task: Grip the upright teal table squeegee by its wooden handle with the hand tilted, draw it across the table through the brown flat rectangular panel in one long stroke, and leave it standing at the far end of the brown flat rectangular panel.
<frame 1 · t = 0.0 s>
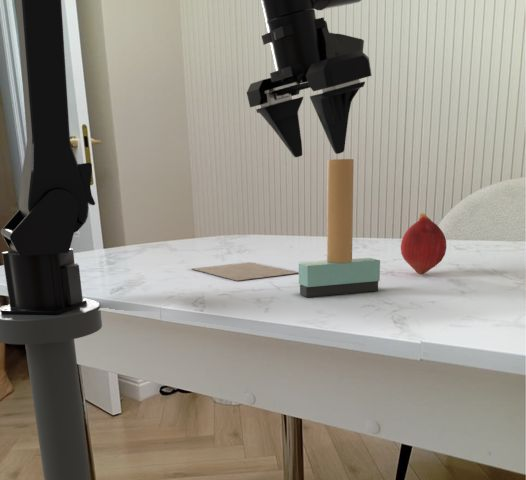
hand: (318, 154, 74), 16 cm above the table, tool pointing down, fingers open, 9 cm apart
onion: (421, 275, 79), on the table
wiper: (339, 292, 68), on the table
brown flat rectangular panel: (243, 271, 86), on the table
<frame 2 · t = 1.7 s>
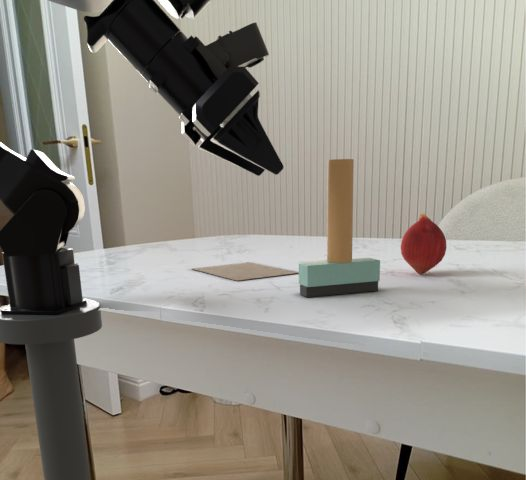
hand: (270, 172, 63), 13 cm above the table, tool tilted 45°, fingers open, 9 cm apart
nothing on the table moved.
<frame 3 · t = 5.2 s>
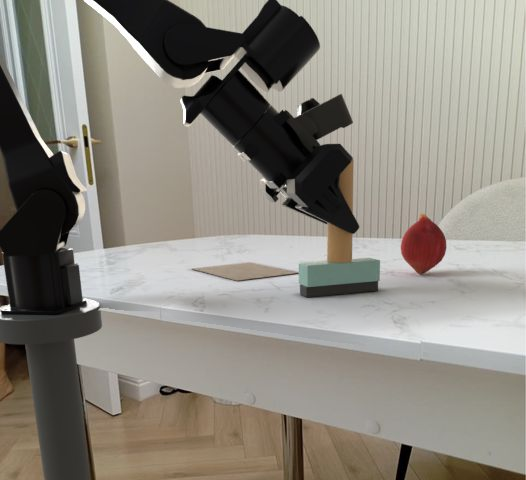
hand: (351, 229, 66), 7 cm above the table, tool tilted 45°, fingers closed on wiper, 3 cm apart
wiper: (339, 292, 68), on the table, touching gripper
everything else where it was.
when the fingers open (7 cm above the table, at t = 11.3 s): wiper stays where it is, resting on brown flat rectangular panel.
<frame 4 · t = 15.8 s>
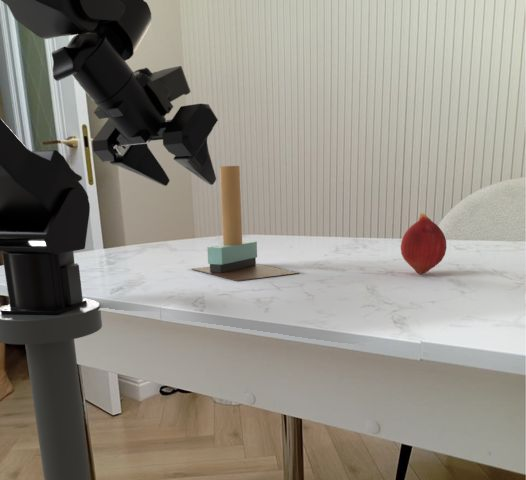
hand: (189, 182, 79), 13 cm above the table, tool tilted 45°, fingers open, 9 cm apart
wiper: (233, 268, 88), resting on brown flat rectangular panel
everything else where it was.
at the end: wiper inside the target area on the brown flat rectangular panel (0.5 cm from its centre), point 0.1 cm above the brown flat rectangular panel's base; wiper moved 24.7 cm from its start; wiper tilted 0° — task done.
